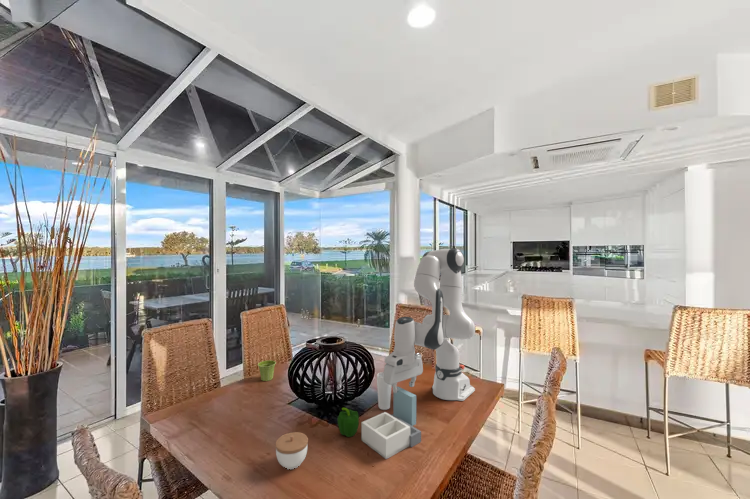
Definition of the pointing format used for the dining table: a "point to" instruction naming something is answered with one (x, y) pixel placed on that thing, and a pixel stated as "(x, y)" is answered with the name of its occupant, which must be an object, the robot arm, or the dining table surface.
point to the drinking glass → (383, 392)
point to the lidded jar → (291, 449)
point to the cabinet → (389, 434)
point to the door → (405, 406)
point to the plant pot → (266, 369)
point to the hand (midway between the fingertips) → (403, 389)
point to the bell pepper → (348, 422)
